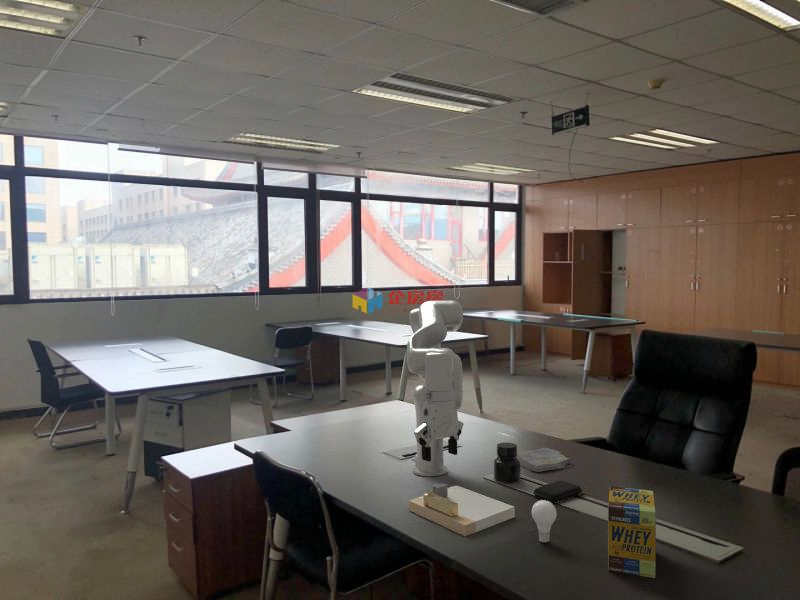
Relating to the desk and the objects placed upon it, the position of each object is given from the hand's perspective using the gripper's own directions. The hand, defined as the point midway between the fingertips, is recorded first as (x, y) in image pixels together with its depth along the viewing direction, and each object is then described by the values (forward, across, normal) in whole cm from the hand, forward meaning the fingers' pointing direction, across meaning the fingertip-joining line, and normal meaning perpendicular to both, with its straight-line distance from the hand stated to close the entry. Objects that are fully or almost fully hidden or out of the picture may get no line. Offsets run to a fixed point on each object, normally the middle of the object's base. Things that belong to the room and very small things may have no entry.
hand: (439, 457), depth 167 cm
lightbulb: (+20, +14, -25) cm, 35 cm away
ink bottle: (+19, +44, +15) cm, 50 cm away
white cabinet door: (+20, +10, +3) cm, 22 cm away
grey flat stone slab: (+20, +67, +20) cm, 73 cm away
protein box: (+20, +23, -44) cm, 54 cm away
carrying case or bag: (+20, +45, -6) cm, 49 cm away
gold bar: (+16, +3, +3) cm, 17 cm away
